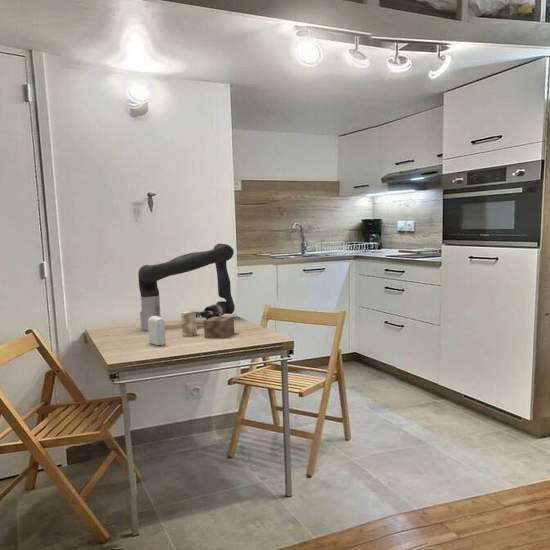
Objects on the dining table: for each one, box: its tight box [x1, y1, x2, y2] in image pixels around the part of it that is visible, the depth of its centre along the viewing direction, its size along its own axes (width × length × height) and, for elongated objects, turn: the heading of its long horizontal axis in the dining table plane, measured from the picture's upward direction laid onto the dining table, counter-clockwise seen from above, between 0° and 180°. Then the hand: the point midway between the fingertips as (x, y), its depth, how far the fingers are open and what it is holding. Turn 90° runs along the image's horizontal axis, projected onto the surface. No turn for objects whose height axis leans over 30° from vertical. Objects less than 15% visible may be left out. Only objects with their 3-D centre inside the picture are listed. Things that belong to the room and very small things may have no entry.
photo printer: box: [148, 316, 167, 346], centre depth 204 cm, size 10×4×12 cm, turn 39°
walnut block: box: [203, 316, 235, 339], centre depth 217 cm, size 10×12×8 cm
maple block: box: [180, 310, 198, 337], centre depth 221 cm, size 5×5×11 cm
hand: (199, 317), depth 232 cm, fingers open, 8 cm apart
